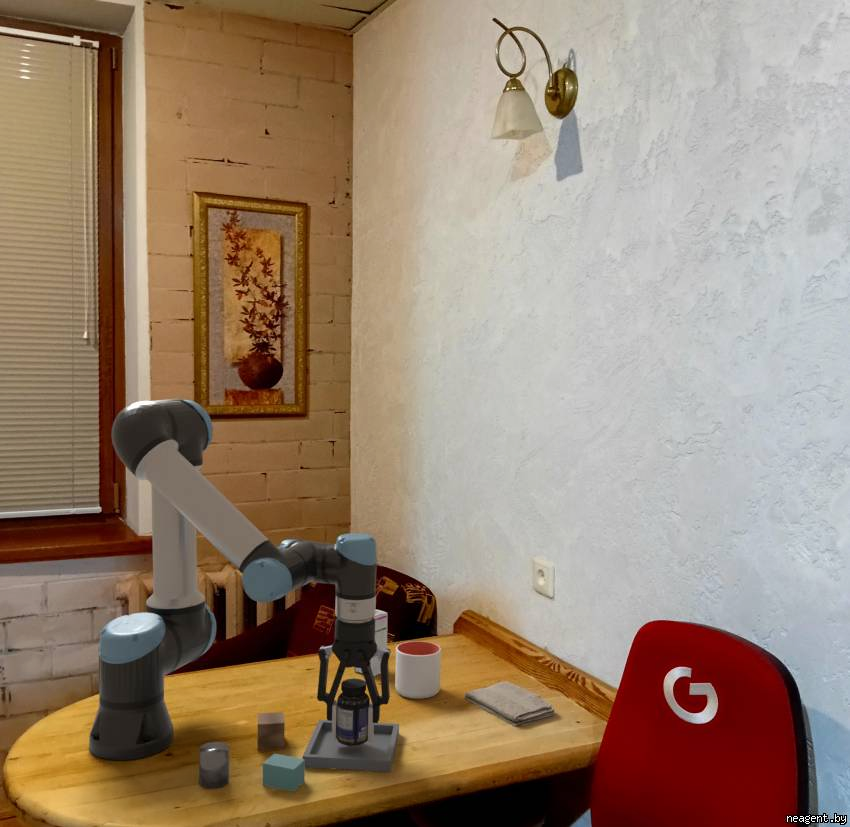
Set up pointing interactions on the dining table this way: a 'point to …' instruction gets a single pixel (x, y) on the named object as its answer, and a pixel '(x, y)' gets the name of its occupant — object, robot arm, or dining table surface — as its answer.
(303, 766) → the teal block
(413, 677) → the cup
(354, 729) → the pill bottle
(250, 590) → the robot arm
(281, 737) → the walnut cube
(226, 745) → the metal cylinder
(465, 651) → the dining table surface
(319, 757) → the tray
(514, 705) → the washcloth
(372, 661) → the syrup box
